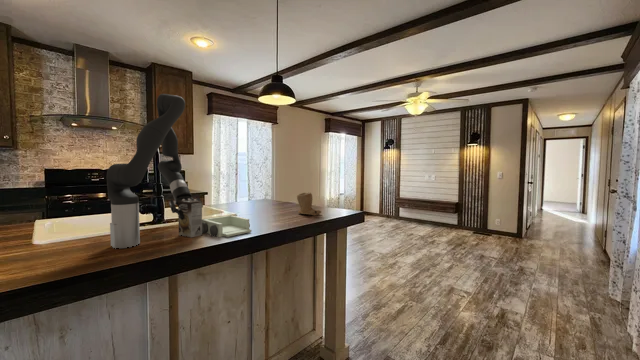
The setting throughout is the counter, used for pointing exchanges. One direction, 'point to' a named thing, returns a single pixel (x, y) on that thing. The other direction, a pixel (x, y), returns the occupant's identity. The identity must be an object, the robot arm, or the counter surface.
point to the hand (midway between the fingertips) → (191, 217)
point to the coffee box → (190, 218)
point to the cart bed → (226, 226)
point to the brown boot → (306, 204)
